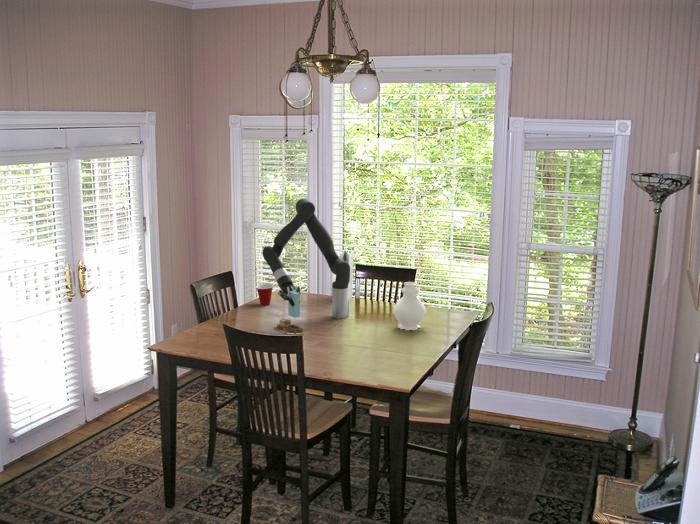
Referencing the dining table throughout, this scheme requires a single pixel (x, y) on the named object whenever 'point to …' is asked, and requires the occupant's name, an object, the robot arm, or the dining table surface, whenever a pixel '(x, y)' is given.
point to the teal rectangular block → (295, 309)
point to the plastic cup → (264, 293)
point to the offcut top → (285, 321)
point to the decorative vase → (409, 308)
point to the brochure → (349, 259)
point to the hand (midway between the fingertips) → (296, 304)
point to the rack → (292, 330)
